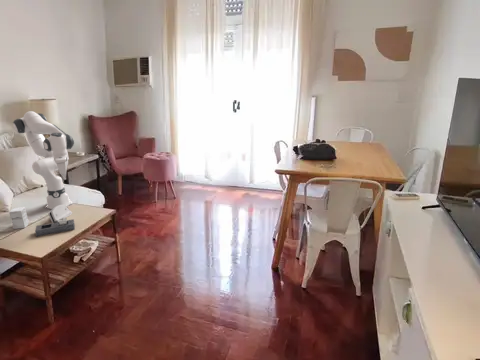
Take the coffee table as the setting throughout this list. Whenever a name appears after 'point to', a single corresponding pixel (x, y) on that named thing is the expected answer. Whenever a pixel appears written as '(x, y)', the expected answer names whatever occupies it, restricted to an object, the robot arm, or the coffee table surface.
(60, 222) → the nut block
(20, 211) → the supplement box
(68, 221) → the rail
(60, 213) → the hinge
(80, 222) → the coffee table surface
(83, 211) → the coffee table surface
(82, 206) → the coffee table surface
